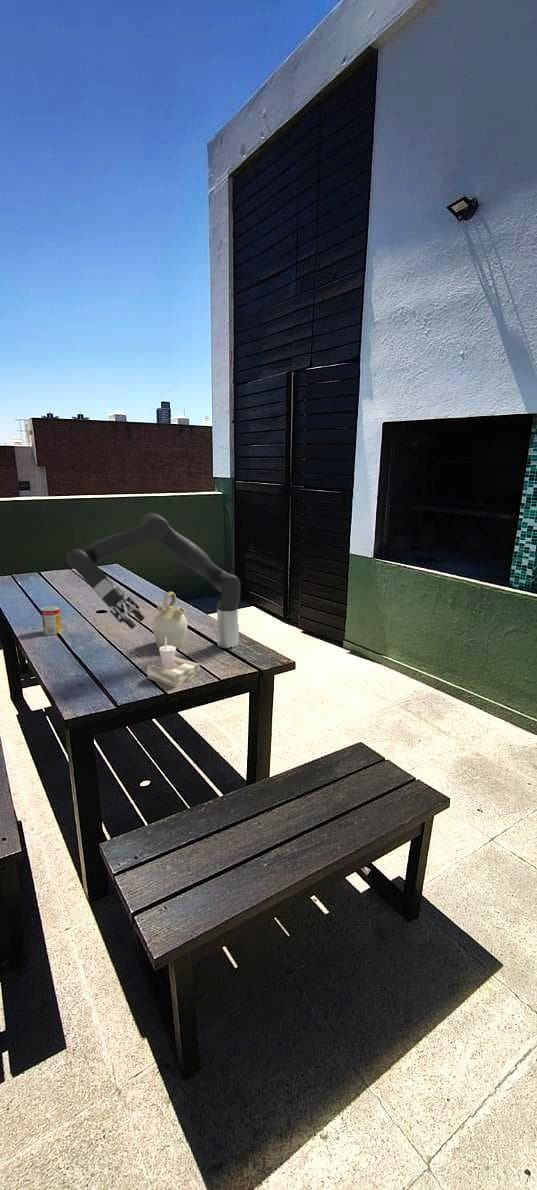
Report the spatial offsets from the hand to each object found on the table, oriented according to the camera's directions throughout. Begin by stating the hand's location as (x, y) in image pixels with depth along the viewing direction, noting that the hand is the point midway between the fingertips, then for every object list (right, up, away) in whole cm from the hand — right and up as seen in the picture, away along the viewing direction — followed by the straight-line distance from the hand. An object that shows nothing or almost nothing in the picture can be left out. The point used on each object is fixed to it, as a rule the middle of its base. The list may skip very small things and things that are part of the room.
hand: (138, 623), depth 186 cm
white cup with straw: (+11, -19, +3) cm, 22 cm away
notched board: (+13, -21, +2) cm, 25 cm away
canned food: (-54, -7, +47) cm, 72 cm away
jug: (+5, -12, +35) cm, 37 cm away
